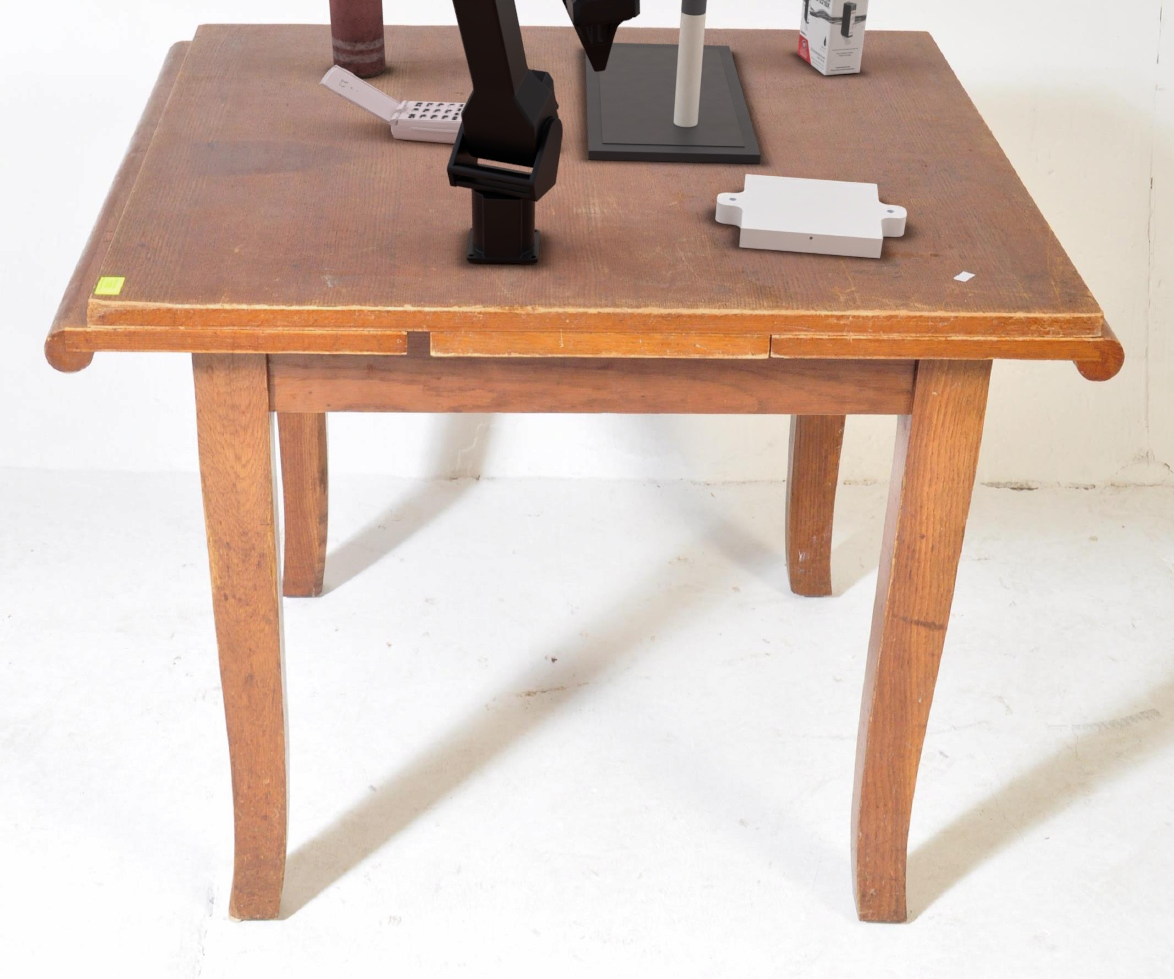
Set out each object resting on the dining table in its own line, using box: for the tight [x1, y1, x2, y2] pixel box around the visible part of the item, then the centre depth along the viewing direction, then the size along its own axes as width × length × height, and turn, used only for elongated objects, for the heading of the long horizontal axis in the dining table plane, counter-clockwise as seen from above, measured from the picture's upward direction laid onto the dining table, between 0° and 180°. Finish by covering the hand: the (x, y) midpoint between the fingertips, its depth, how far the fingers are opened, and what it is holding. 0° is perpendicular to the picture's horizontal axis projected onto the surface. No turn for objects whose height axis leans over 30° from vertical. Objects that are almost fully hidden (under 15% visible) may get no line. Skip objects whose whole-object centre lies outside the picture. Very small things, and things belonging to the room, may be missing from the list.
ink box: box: [797, 0, 870, 76], centre depth 174 cm, size 8×5×12 cm, turn 17°
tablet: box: [584, 42, 762, 165], centre depth 165 cm, size 36×18×1 cm, turn 1°
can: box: [328, 0, 387, 79], centre depth 167 cm, size 6×6×14 cm
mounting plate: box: [715, 173, 908, 259], centre depth 138 cm, size 18×13×2 cm
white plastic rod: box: [674, 0, 708, 127], centre depth 152 cm, size 3×3×14 cm
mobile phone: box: [318, 65, 466, 145], centre depth 153 cm, size 6×6×25 cm
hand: (589, 48), depth 141 cm, fingers open, 9 cm apart
